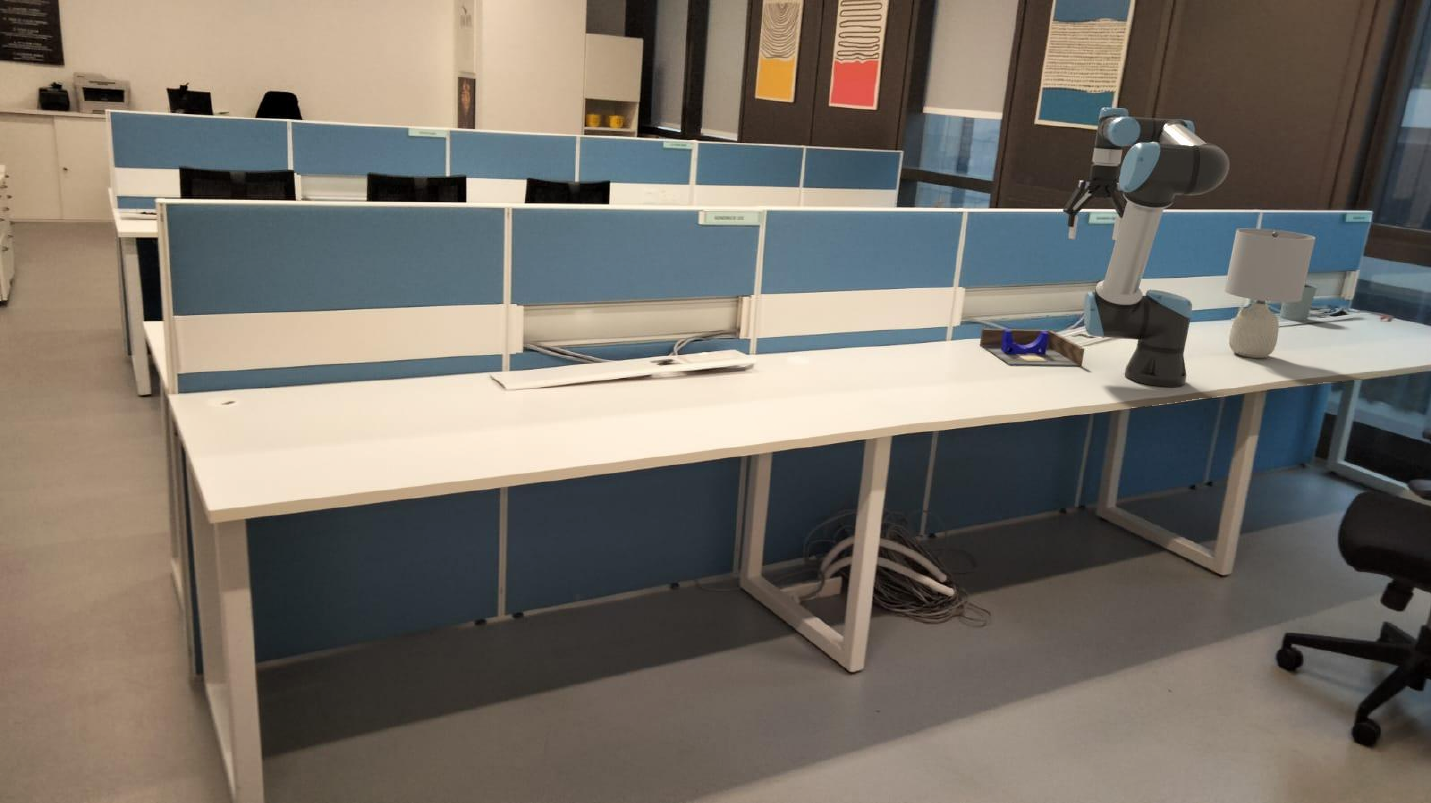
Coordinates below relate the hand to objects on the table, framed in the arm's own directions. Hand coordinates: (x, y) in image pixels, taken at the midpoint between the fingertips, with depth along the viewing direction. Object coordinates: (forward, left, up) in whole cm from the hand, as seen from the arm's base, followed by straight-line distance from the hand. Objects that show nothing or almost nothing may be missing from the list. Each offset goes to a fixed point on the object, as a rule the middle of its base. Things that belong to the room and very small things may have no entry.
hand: (1093, 239), depth 301 cm
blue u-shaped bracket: (-12, +22, -31) cm, 40 cm away
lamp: (-8, -51, -32) cm, 61 cm away
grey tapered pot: (+44, -103, -32) cm, 117 cm away
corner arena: (-13, +21, -32) cm, 40 cm away
